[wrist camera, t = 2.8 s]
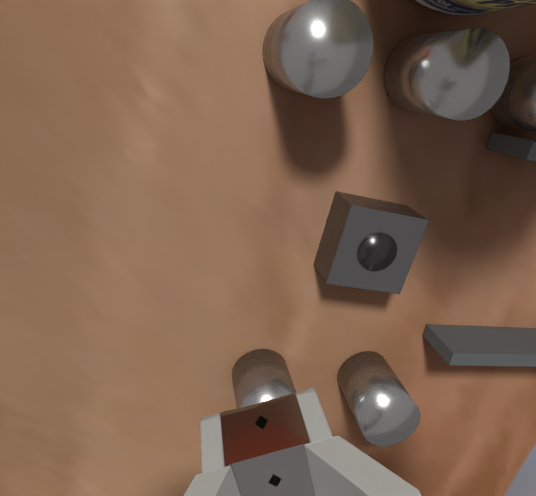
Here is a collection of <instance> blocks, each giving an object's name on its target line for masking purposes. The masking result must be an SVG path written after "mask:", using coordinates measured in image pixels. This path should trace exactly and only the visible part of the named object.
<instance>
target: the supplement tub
mask: <svg viewBox="0 0 536 496" xmlns="http://www.w3.org/2000/svg"><path fill="white" fill-rule="evenodd" d="M415 1H417V2H418V3H420V4H422V5H424V6H426V7H428V8H431V9H433V10H436V11H440V12H444V13H448V14H454V15H476V14H483V13H488V12H492V11H497V10H502V9H507V8H513V7H519V6H524V5H531V4H536V0H415Z"/></svg>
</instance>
